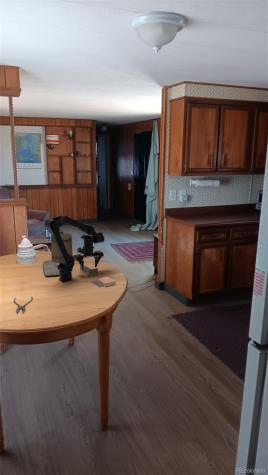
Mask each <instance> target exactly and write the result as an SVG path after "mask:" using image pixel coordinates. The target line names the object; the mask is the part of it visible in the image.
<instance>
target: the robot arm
mask: <svg viewBox="0 0 268 475" xmlns="http://www.w3.org/2000/svg"><path fill="white" fill-rule="evenodd" d="M43 224H44V227H45V229H46V230H47V232H48V233H49V234H50V236H51V235H52V237H53V240H54V242H55V244H56V247H57V249H58V251H59V254H60V263H58V264H57V265H58V266H57V268H58V270H60V271H59V275H58V277H59V278H58V281H59V282H61V283H66V282H67V283H68V282H71V281H73V279H72V278H73V269H74V266H75V262H78V264H79V267H80V266H81V269H82V270H83V269H84V265H85V264H84V262H85V261H84V259H86V258H92V257H94V269H95V268H98V264H99V262H100V261H101V259H102V258H103V257H104V256H105V253H104V252H103V251H101V250H95V251H94V249H95V246H94V245H95V244H101V243H104V242H105V236H104V234H103V232H101V231H98V232H97V231H96V230H95V227H94V226H93V225H89V224H86V223H82V222H80V221H77V220H76V219H73V218H71V217H70V216H68V215H65V214H61V215H59V216H55V217H52V218H47V219H45V222H44V223H43ZM64 224H67V225H70V226H72V227H75V228H76V229H78V230H79V231H80V232H81V233H83V234H82V235H81V236H80V239H82V240H83V245H82V247H81V246H80V247H77V248H76V249H77V250H76V251H77V254H74V255H73V254H72V255H71V254H68V252H67V250H66V248H65V245H64V243H63V240H62V238H61V235H60V230H61V229H60V227H62V226H63V225H64ZM78 253H79V254H78Z"/></svg>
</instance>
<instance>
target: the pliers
mask: <svg viewBox="0 0 268 475" xmlns="http://www.w3.org/2000/svg"><path fill="white" fill-rule="evenodd" d="M30 298H31V299H30V300H29V301H27V302H26V303H24V304H23V305H20V304H19V303H18V302H16V300H17V297H15V298H13V303H14V304H15V305H16V306H17V308H16V310H15V313H16V315H17V314H19V312H20V310H21V311H22V314H24V313H25V311H26V306H27V305H29V304H30V303H32V302H33V300H34V298H33V296H31V297H30Z"/></svg>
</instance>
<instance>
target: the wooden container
mask: <svg viewBox="0 0 268 475" xmlns="http://www.w3.org/2000/svg"><path fill="white" fill-rule="evenodd" d="M60 235H61V238H62V240H63V243H64V245H65V248H66V250H67V252H68V254H71V255H73V240H72V239H73V235H72V234H71V233H67V232H64V230H63V229H60ZM50 248H51V249H50V251H51V253H50V254H51V261H55V262H56V264H60V254H59V251H58V249H57V247H56V244H55V242H54V240H53V237H52V235H51V234H50Z"/></svg>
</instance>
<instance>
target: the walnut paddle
mask: <svg viewBox="0 0 268 475" xmlns="http://www.w3.org/2000/svg"><path fill="white" fill-rule="evenodd" d="M79 270H80V272H82V273H85V274H87V275H88V277H89V278H93V277H97V276H99V268H98V267H96V268H95V267H94V268H91V267H88V266H86V265H85V264H84V269H83V270H82V269H81V266H80V265H79Z"/></svg>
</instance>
